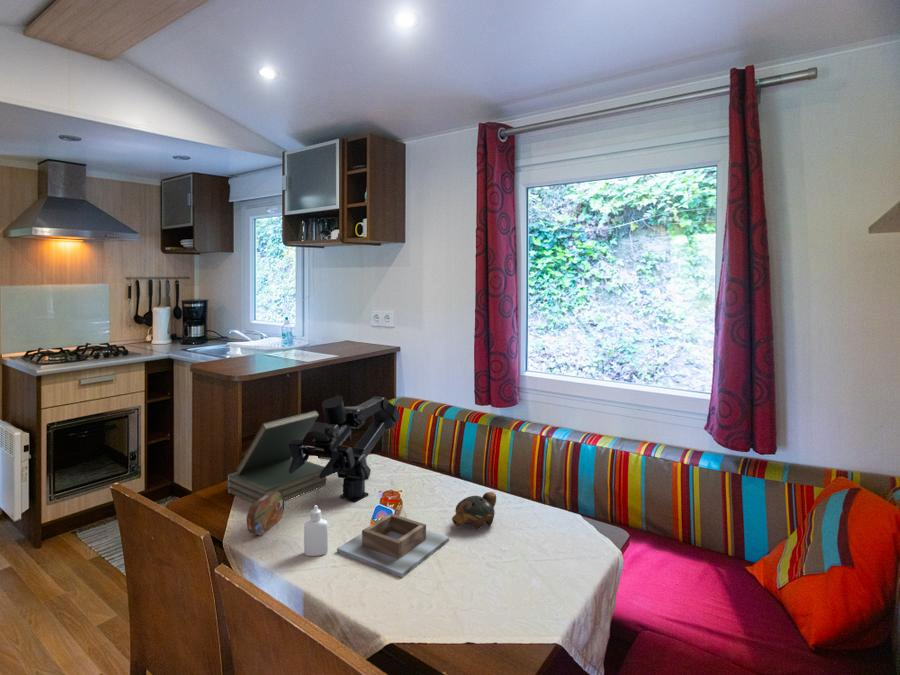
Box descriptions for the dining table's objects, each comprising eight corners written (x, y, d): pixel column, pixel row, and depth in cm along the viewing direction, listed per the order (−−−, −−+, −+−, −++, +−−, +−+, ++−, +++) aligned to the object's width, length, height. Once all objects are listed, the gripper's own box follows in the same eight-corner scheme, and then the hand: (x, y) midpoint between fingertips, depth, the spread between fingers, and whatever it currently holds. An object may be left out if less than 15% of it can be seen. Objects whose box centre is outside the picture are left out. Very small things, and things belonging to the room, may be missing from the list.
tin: (255, 541, 132) (255, 509, 131) (244, 540, 133) (243, 508, 132) (285, 515, 147) (285, 486, 146) (275, 514, 147) (275, 485, 146)
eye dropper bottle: (311, 546, 130) (310, 500, 129) (331, 550, 128) (330, 503, 127) (301, 555, 126) (300, 507, 124) (321, 559, 124) (321, 511, 123)
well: (388, 520, 144) (388, 503, 144) (449, 540, 134) (449, 522, 133) (337, 552, 127) (336, 532, 127) (402, 577, 117) (402, 556, 116)
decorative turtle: (506, 520, 146) (507, 494, 144) (469, 542, 135) (469, 514, 134) (480, 508, 152) (481, 482, 151) (443, 527, 142) (443, 501, 140)
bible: (289, 472, 180) (288, 401, 177) (327, 486, 169) (326, 411, 166) (227, 493, 161) (225, 415, 159) (265, 510, 150) (264, 426, 147)
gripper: (300, 410, 147) (266, 445, 134) (358, 417, 141) (329, 454, 128) (308, 442, 152) (277, 478, 139) (365, 450, 146) (338, 488, 133)
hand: (304, 474), depth 134 cm, fingers open, 9 cm apart
